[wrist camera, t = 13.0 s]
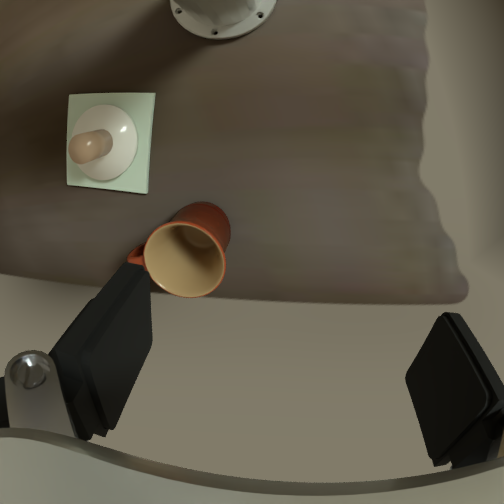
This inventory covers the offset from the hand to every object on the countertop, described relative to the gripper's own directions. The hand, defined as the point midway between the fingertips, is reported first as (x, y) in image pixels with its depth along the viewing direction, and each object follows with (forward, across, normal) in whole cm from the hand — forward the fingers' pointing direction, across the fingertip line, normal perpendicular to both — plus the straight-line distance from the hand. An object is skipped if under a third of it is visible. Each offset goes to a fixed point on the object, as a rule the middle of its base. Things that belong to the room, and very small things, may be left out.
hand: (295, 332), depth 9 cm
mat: (+30, +23, 0) cm, 38 cm away
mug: (+31, +10, +10) cm, 34 cm away
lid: (+30, +23, 0) cm, 38 cm away
